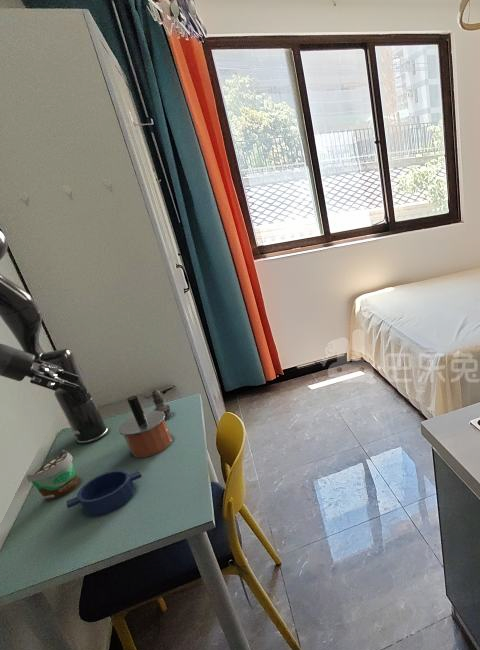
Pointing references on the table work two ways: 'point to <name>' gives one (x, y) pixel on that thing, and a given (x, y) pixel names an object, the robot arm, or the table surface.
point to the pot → (149, 441)
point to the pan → (106, 492)
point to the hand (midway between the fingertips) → (77, 384)
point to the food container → (55, 477)
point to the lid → (140, 419)
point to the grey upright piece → (161, 404)
